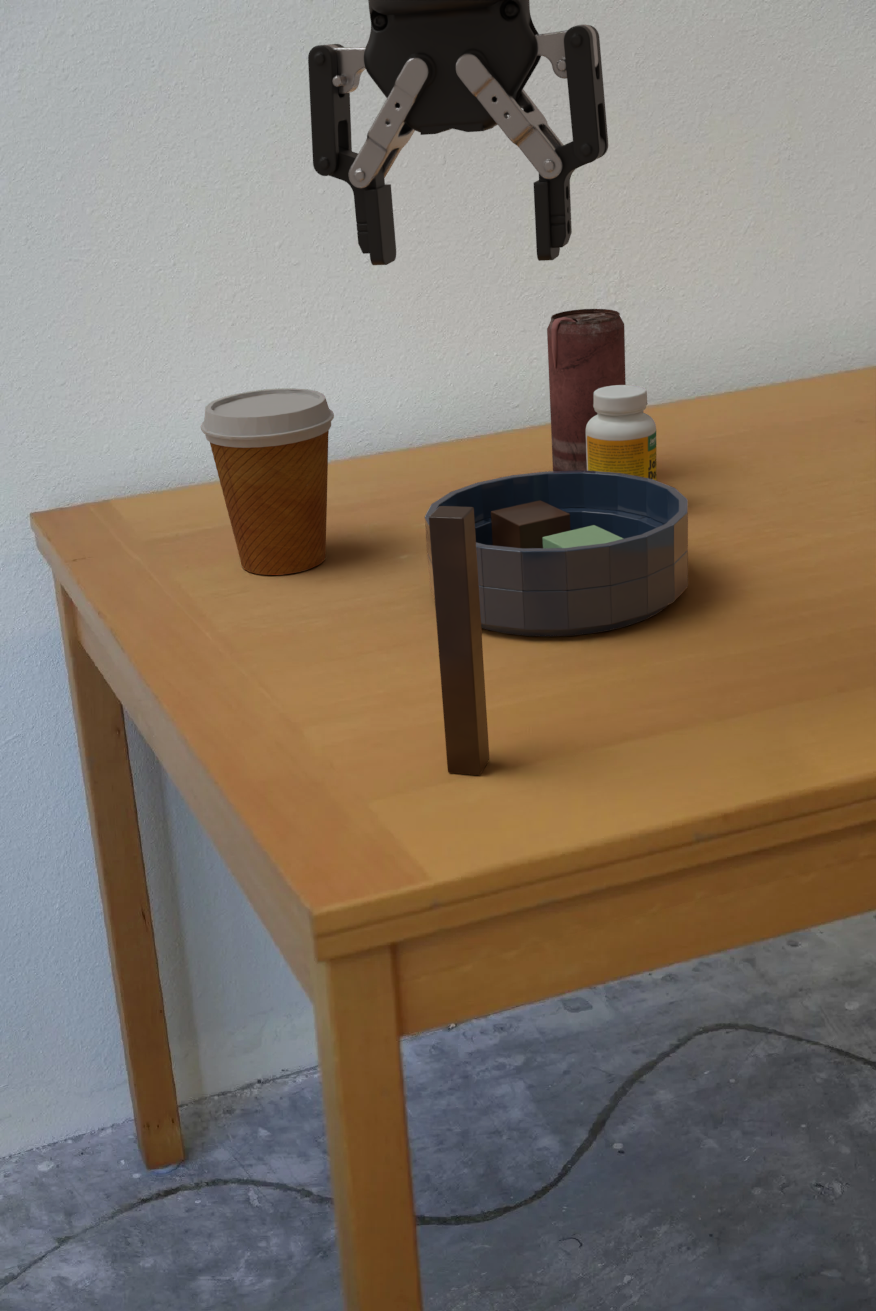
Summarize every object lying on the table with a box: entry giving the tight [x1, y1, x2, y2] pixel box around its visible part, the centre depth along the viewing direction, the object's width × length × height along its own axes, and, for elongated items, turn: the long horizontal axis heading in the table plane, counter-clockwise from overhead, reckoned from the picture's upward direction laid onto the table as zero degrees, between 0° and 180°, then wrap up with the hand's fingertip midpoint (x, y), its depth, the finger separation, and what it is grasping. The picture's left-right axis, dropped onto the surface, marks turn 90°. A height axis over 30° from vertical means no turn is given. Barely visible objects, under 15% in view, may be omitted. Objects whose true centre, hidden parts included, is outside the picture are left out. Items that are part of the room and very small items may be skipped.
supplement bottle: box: [586, 384, 658, 481], centre depth 113 cm, size 5×5×10 cm
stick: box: [429, 506, 490, 776], centre depth 75 cm, size 2×2×14 cm
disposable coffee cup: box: [200, 387, 335, 576], centre depth 107 cm, size 10×10×12 cm
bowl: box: [424, 470, 689, 638], centre depth 99 cm, size 17×17×6 cm
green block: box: [542, 525, 623, 548], centre depth 96 cm, size 4×4×4 cm
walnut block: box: [491, 500, 570, 549], centre depth 102 cm, size 4×4×4 cm
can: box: [546, 308, 627, 471], centre depth 120 cm, size 6×6×14 cm
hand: (465, 260), depth 74 cm, fingers open, 8 cm apart
